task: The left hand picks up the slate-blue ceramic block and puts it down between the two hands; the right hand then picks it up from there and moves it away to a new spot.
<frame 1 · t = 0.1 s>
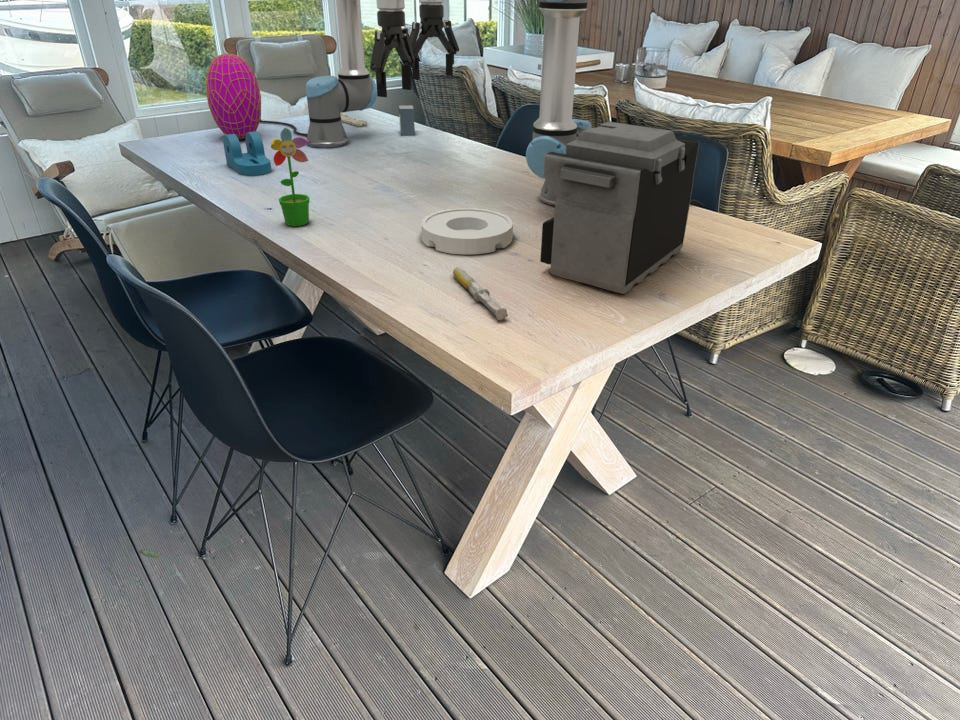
left hand: (433, 77, 223), 28 cm above the table, tool pointing down, fingers open, 13 cm apart
right hand: (394, 93, 197), 28 cm above the table, tool pointing down, fingers open, 13 cm apart
ashtray: (467, 238, 175), on the table
potted flower: (298, 223, 184), on the table
block: (407, 133, 277), on the table
syringe: (478, 297, 145), on the table
electronic device: (613, 262, 162), on the table
camera mount: (251, 168, 229), on the table
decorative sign: (346, 121, 296), on the table
decorative egg: (241, 138, 266), on the table
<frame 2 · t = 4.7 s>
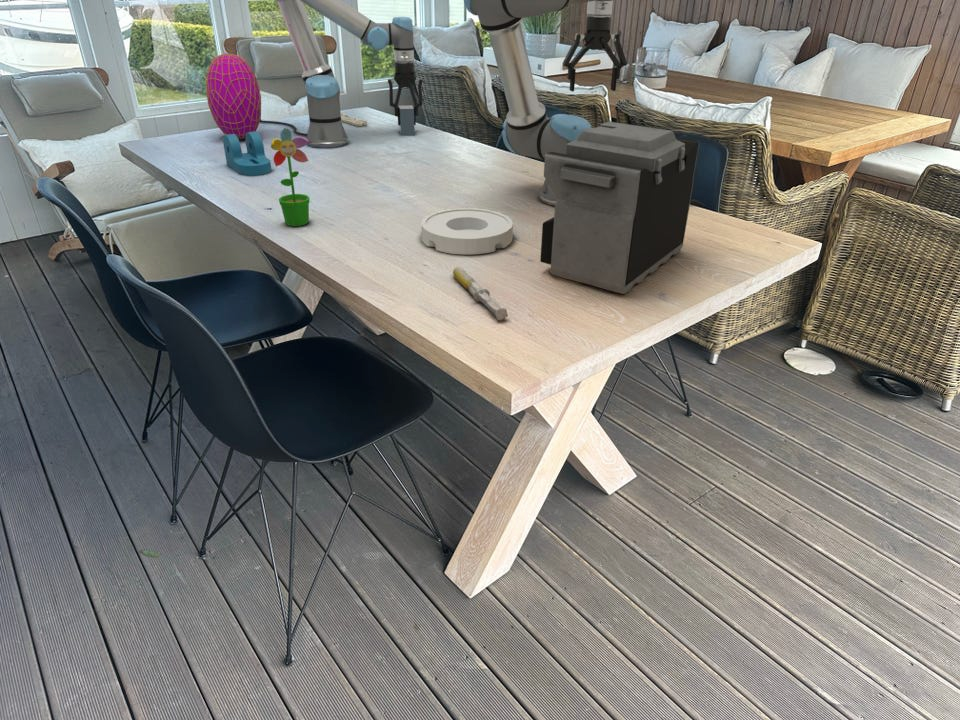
left hand: (406, 124, 275), 4 cm above the table, tool pointing down, fingers closed on block, 5 cm apart
right hand: (592, 90, 218), 26 cm above the table, tool pointing down, fingers open, 13 cm apart
block: (407, 133, 277), on the table, touching left hand
everything else where it was.
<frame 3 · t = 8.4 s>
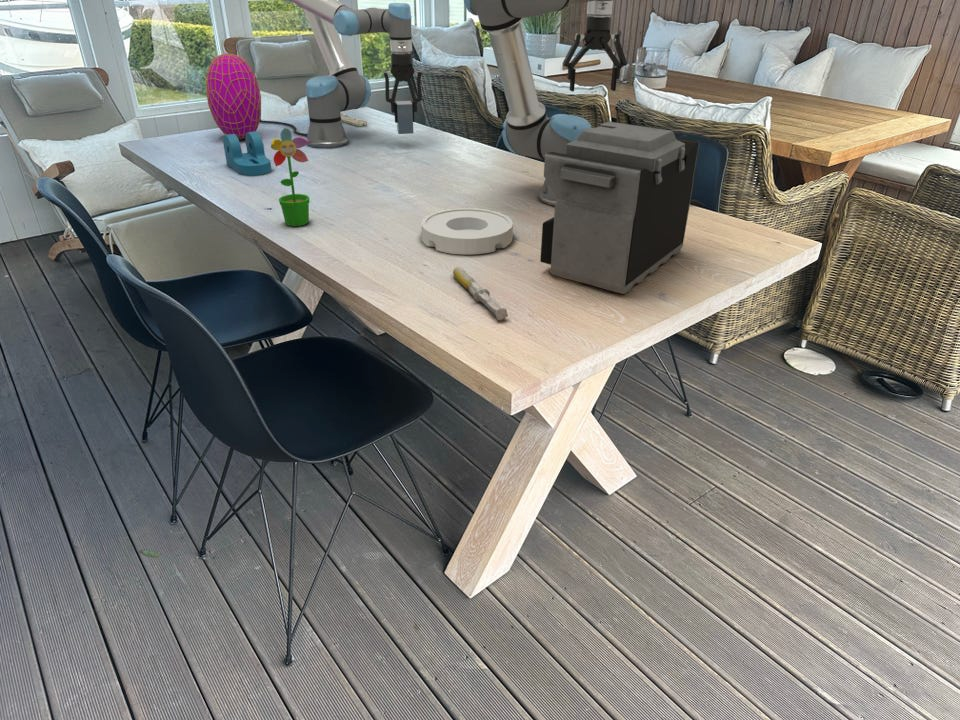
left hand: (404, 121, 251), 10 cm above the table, tool pointing down, fingers closed on block, 5 cm apart
right hand: (592, 90, 218), 26 cm above the table, tool pointing down, fingers open, 13 cm apart
block: (405, 131, 253), point 6 cm above the table, touching left hand
everything else where it was.
when the left hand's fingers open (5 cm above the table, at t = 12.6 s): block drops 1 cm, on the table.
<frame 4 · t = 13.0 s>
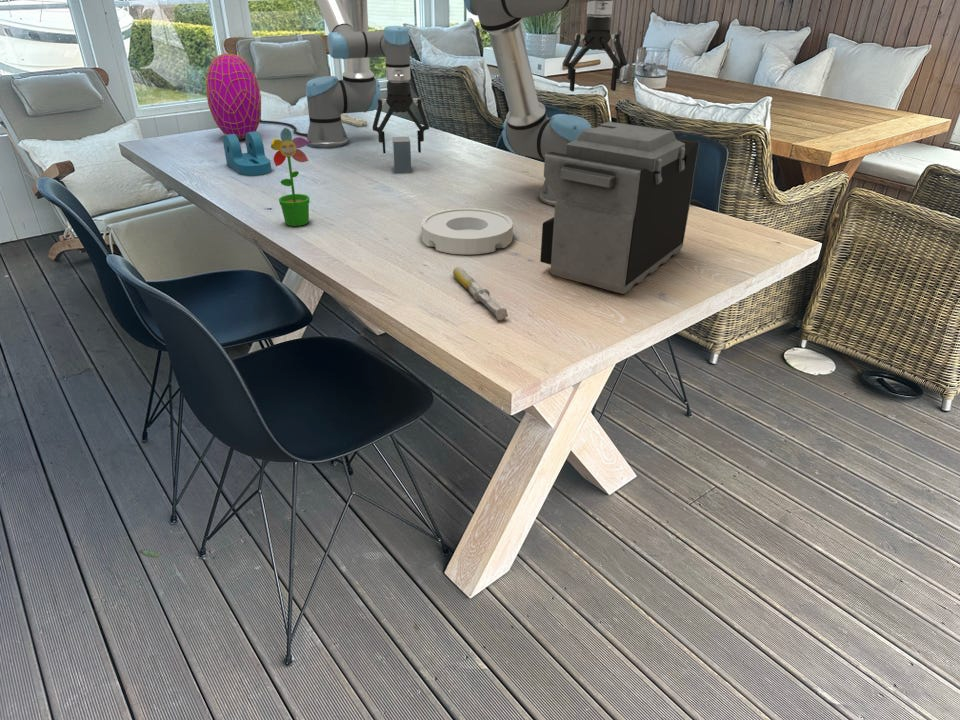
left hand: (401, 152, 226), 6 cm above the table, tool pointing down, fingers open, 11 cm apart
right hand: (592, 90, 218), 26 cm above the table, tool pointing down, fingers open, 13 cm apart
block: (402, 170, 230), on the table
everything else where it was.
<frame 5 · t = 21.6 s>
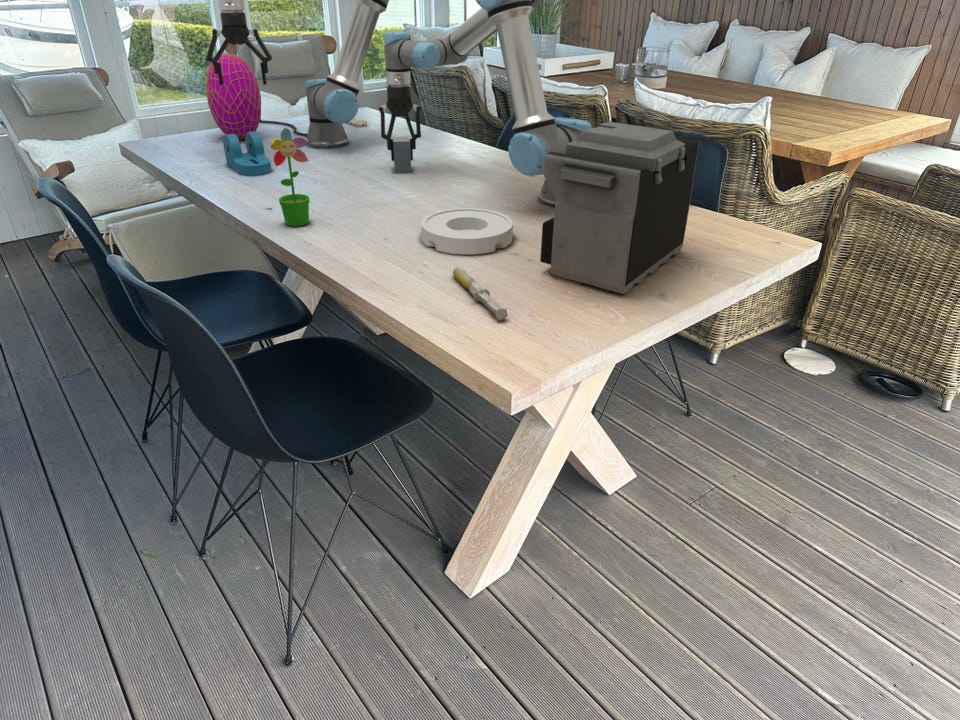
left hand: (243, 84, 224), 25 cm above the table, tool pointing down, fingers open, 13 cm apart
right hand: (402, 159, 228), 4 cm above the table, tool pointing down, fingers closed on block, 5 cm apart
block: (402, 170, 230), on the table, touching right hand
everything else where it was.
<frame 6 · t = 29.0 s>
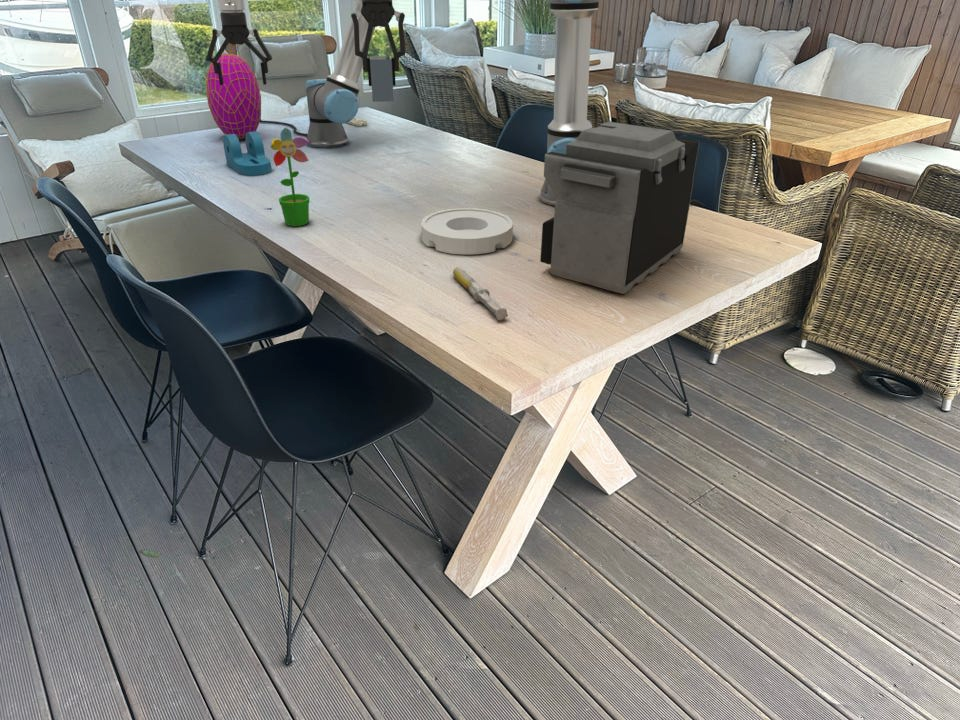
left hand: (243, 84, 224), 25 cm above the table, tool pointing down, fingers open, 13 cm apart
right hand: (382, 84, 181), 33 cm above the table, tool pointing down, fingers closed on block, 5 cm apart
block: (383, 99, 183), point 29 cm above the table, touching right hand
everything else where it was.
when the right hand's fingers open (5 cm above the table, at t = 36.8 s): block drops 1 cm, on the table.
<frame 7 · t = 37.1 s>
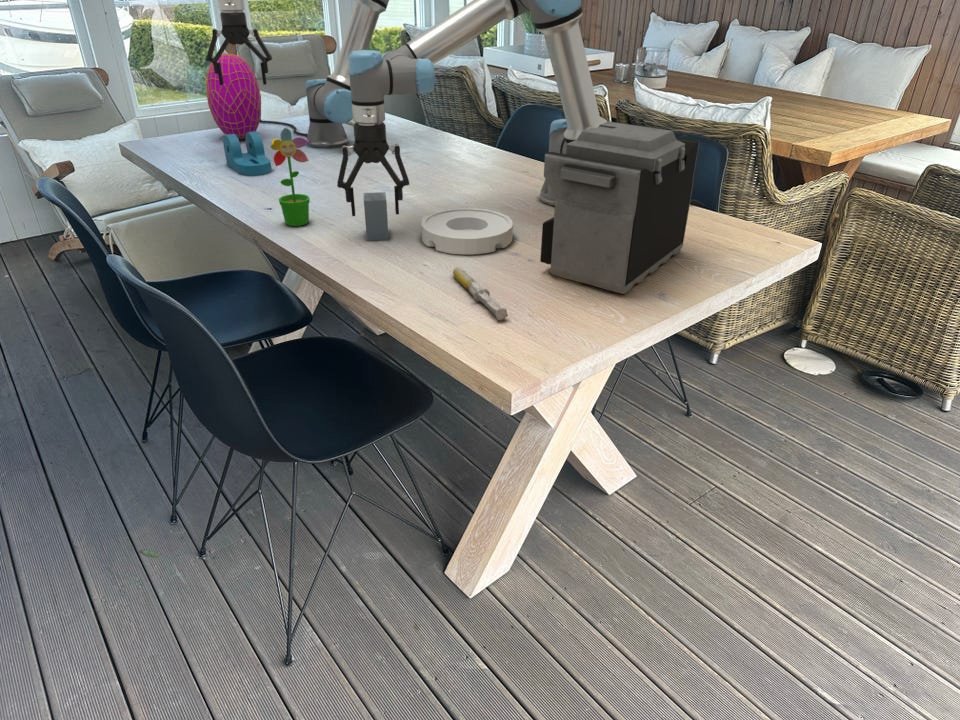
left hand: (243, 84, 224), 25 cm above the table, tool pointing down, fingers open, 13 cm apart
right hand: (375, 213, 173), 6 cm above the table, tool pointing down, fingers open, 10 cm apart
block: (377, 235, 176), on the table
everything else where it was.
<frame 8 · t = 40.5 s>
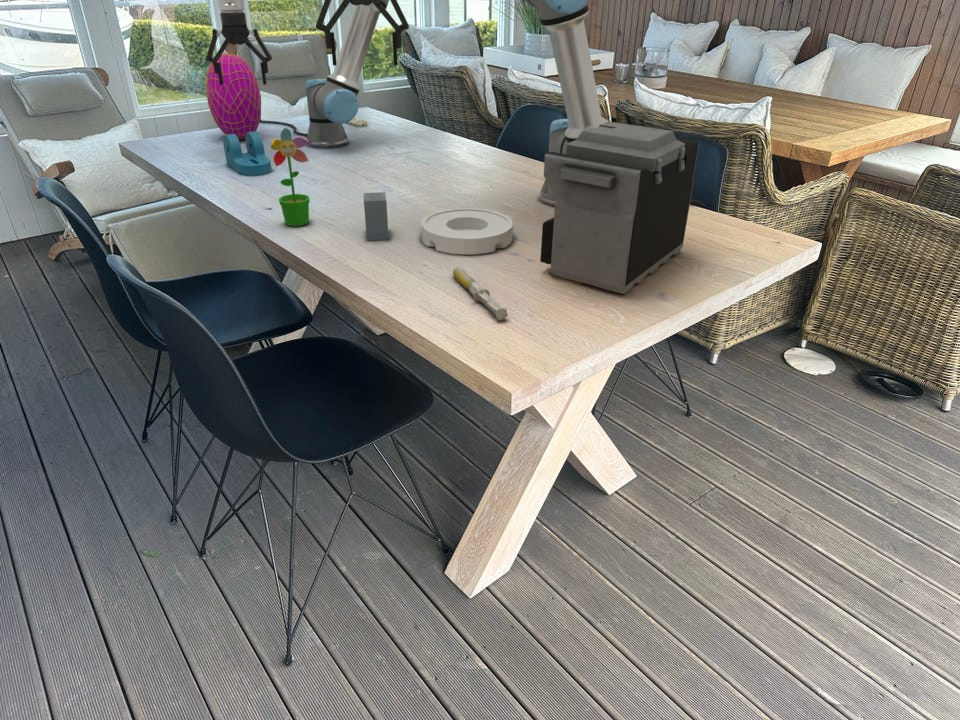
left hand: (243, 84, 224), 25 cm above the table, tool pointing down, fingers open, 13 cm apart
right hand: (365, 64, 155), 41 cm above the table, tool pointing down, fingers open, 13 cm apart
nothing on the table moved.
at the end: block inside the target area (0.2 cm from its centre), on the table; block tilted 0°; the two hands never held the block at the same time; the left hand is holding nothing; the right hand is holding nothing; block at rest at the end (0.0 cm/s) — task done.
